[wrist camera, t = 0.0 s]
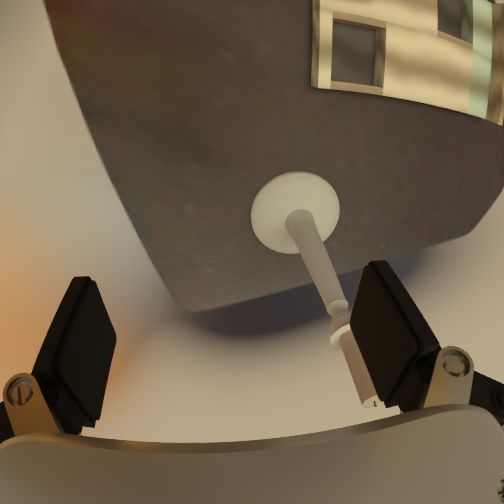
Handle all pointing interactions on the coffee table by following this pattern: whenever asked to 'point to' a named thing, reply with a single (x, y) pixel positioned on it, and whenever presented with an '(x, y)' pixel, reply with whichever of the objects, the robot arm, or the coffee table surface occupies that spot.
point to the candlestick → (311, 253)
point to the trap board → (413, 51)
